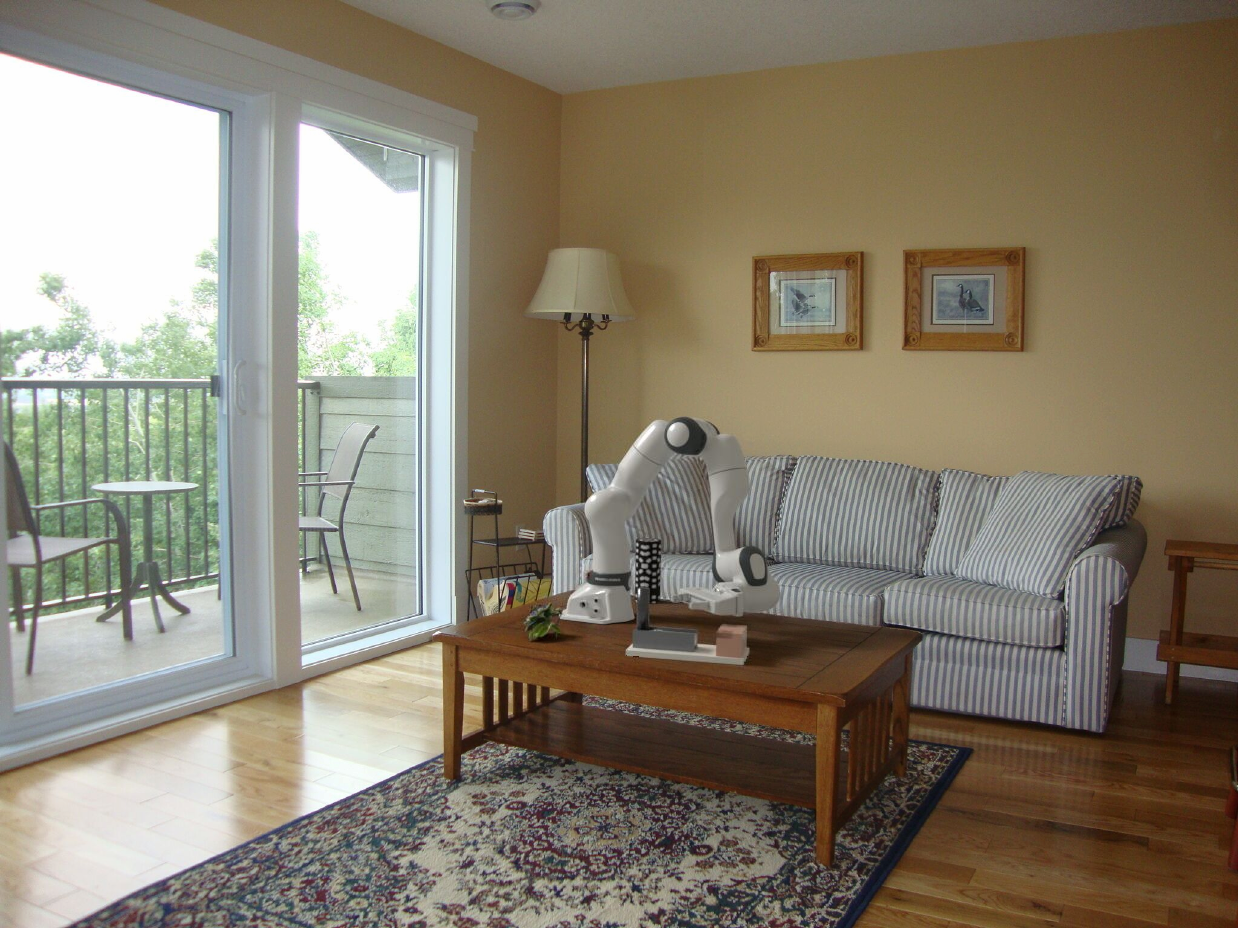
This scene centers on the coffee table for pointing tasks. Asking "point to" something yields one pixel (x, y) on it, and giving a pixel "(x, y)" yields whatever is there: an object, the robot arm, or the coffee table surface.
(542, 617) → the passion flower
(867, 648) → the coffee table surface
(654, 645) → the grey guide channel
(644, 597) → the slide bolt
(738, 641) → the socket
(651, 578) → the white-spotted black cylinder
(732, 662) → the base board
